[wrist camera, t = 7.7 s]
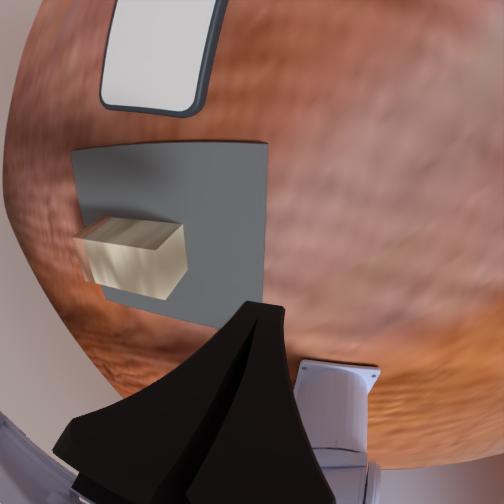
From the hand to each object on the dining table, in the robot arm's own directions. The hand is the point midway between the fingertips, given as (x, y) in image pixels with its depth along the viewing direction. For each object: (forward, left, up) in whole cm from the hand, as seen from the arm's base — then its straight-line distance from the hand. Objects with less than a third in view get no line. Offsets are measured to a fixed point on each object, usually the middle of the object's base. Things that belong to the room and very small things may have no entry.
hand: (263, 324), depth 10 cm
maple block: (-4, +8, -8) cm, 12 cm away
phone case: (+15, +9, -11) cm, 20 cm away
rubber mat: (-4, +11, -10) cm, 15 cm away
